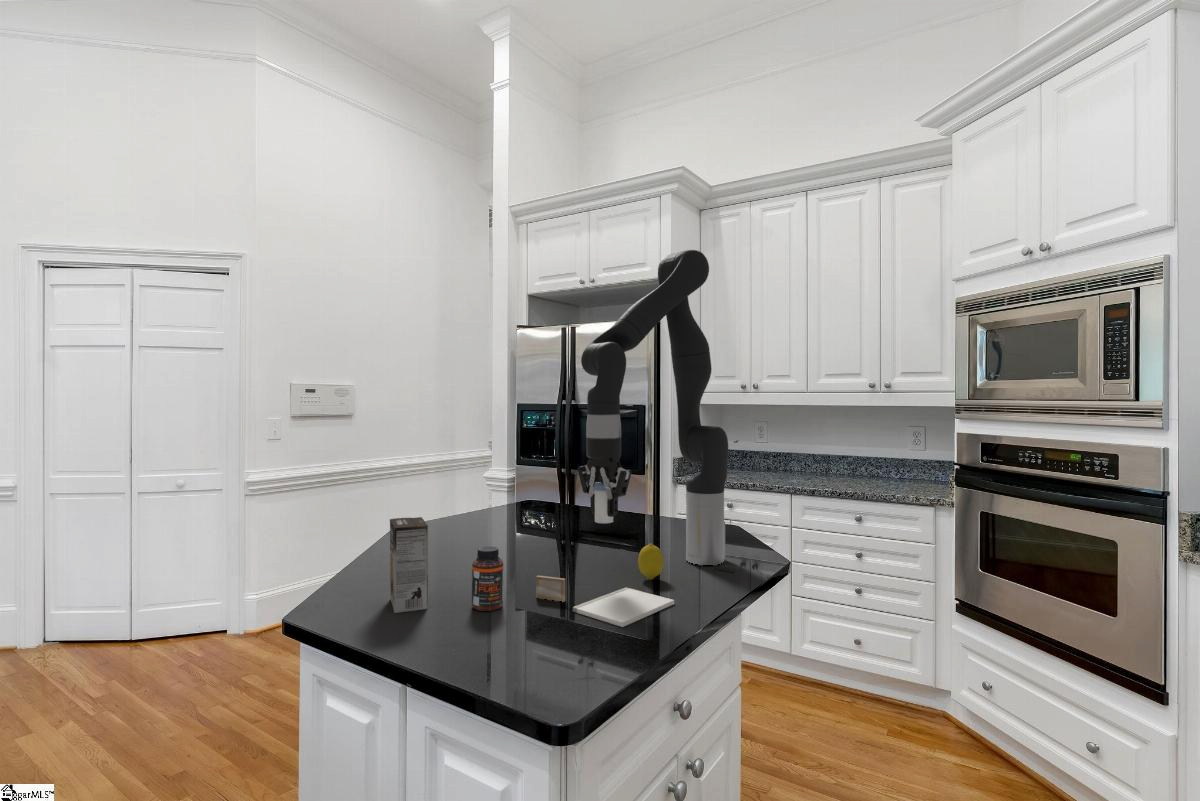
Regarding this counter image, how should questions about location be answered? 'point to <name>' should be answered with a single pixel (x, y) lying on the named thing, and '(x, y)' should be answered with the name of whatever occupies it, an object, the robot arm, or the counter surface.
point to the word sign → (550, 588)
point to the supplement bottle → (487, 580)
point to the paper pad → (623, 606)
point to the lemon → (650, 561)
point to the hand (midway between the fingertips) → (604, 514)
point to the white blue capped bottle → (601, 504)
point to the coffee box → (408, 564)
